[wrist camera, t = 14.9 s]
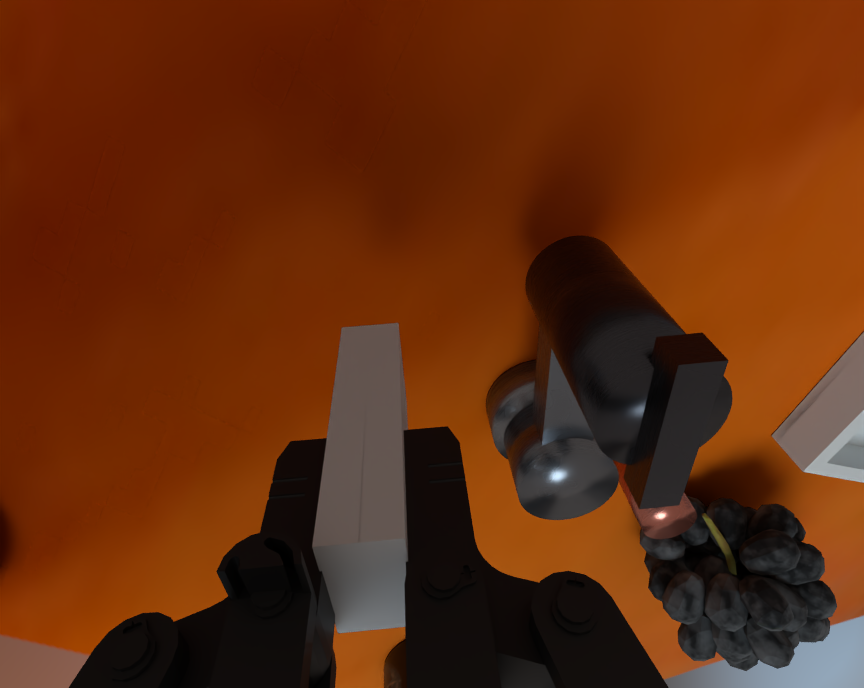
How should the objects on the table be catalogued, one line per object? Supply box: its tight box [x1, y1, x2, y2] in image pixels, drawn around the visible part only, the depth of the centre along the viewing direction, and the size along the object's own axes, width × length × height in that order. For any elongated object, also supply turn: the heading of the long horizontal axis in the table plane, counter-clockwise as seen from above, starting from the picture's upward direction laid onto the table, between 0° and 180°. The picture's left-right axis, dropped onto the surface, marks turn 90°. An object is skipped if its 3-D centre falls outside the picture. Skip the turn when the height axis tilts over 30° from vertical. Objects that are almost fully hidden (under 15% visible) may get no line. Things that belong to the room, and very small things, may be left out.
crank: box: [504, 236, 732, 520], centre depth 17 cm, size 12×4×8 cm, turn 3°
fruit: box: [640, 496, 837, 671], centre depth 29 cm, size 9×8×15 cm
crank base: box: [486, 360, 697, 539], centre depth 23 cm, size 9×5×5 cm, turn 73°
